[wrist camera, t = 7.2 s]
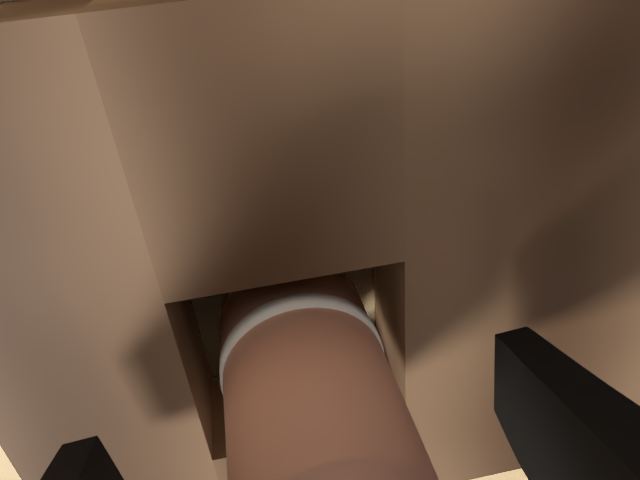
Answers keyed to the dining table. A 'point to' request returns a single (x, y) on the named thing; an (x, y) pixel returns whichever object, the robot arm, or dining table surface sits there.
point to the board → (308, 204)
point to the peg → (312, 388)
